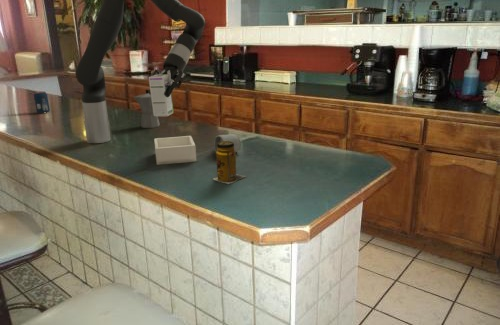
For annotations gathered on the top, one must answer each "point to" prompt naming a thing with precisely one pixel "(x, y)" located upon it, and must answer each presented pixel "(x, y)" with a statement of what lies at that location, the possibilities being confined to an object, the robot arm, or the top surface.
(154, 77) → the syrup box
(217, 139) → the ceramic mug
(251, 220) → the top surface
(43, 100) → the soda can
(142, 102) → the coffeepot
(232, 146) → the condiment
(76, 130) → the top surface
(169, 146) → the bin
